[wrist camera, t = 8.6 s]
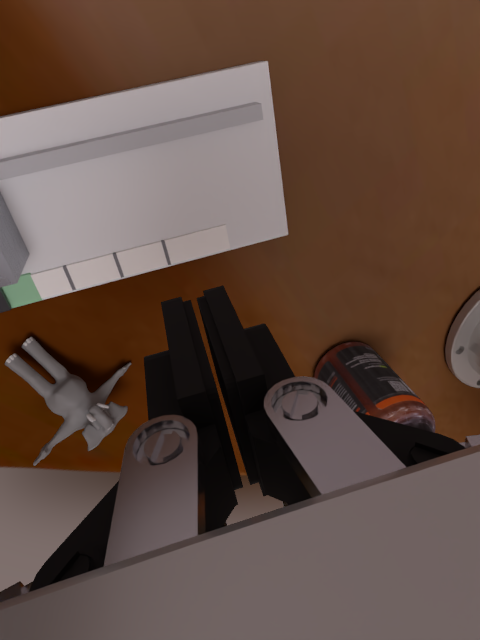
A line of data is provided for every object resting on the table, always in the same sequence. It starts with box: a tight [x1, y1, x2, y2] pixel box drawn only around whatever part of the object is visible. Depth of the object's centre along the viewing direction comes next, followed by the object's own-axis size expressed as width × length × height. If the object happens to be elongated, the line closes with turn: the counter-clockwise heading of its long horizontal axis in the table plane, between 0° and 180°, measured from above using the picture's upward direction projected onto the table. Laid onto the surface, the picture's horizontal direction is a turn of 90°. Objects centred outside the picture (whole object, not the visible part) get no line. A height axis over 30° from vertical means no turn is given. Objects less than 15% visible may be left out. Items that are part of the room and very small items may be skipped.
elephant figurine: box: [5, 337, 131, 466], centre depth 30 cm, size 9×6×8 cm
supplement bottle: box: [314, 342, 435, 433], centre depth 33 cm, size 6×6×11 cm
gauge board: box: [0, 61, 288, 308], centre depth 23 cm, size 24×10×6 cm, turn 100°
